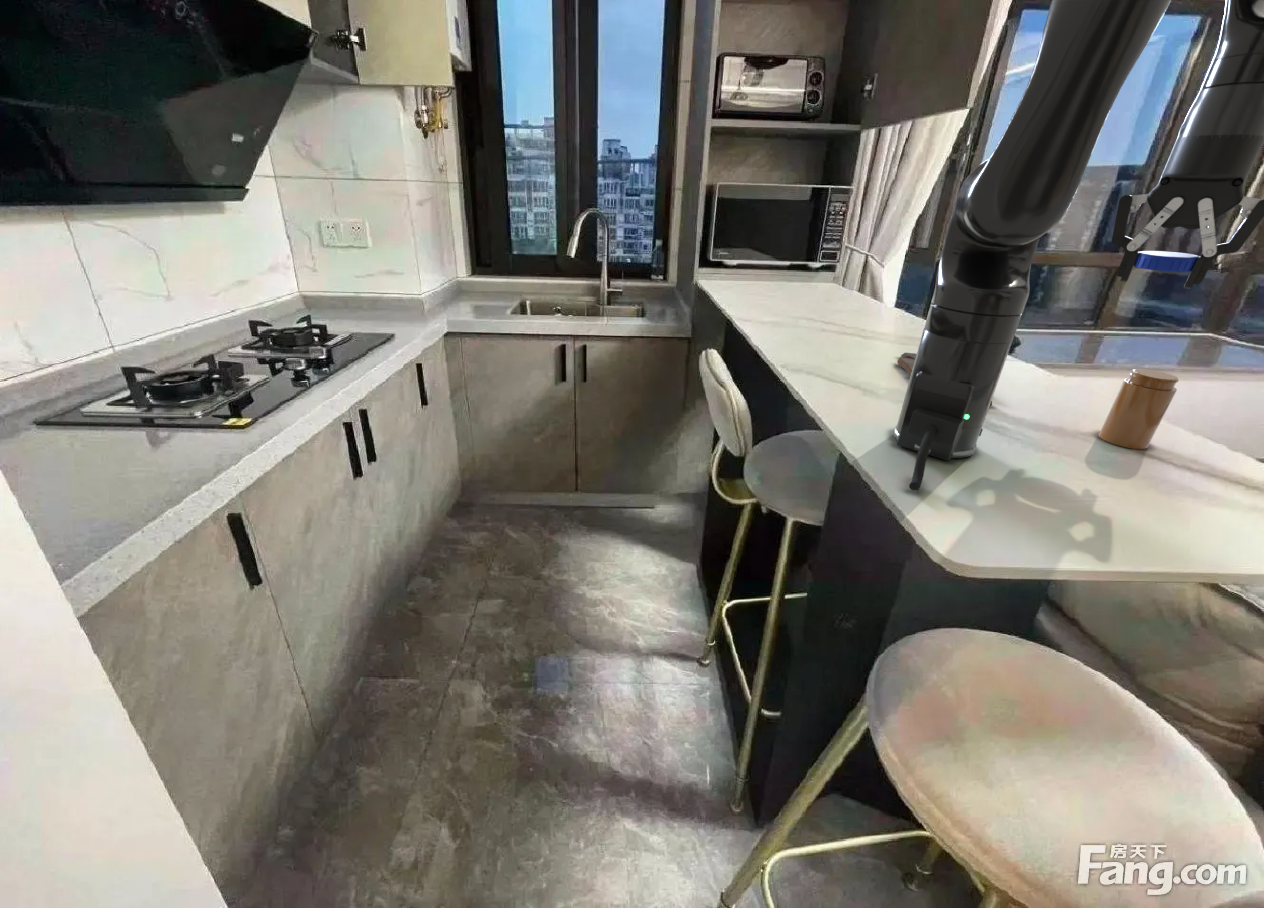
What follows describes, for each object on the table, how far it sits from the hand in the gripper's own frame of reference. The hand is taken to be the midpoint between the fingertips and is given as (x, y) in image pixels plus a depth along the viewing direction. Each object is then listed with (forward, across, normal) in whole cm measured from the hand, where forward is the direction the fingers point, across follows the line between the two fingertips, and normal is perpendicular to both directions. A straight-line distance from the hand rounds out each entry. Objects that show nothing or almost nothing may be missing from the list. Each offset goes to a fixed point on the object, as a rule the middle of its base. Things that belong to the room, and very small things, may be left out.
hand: (1154, 284), depth 70 cm
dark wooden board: (+20, +22, -3) cm, 30 cm away
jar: (+20, -4, +5) cm, 21 cm away
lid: (-3, 0, 0) cm, 3 cm away
